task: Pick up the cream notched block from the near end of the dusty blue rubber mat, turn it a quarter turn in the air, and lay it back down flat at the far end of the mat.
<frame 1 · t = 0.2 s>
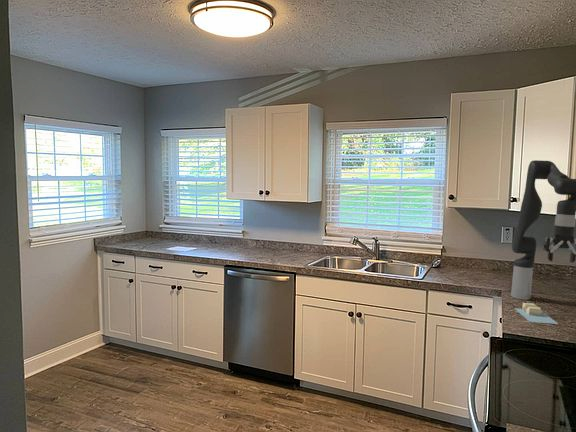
hand: (561, 261, 192), 28 cm above the worktop, tool pointing down, fingers open, 8 cm apart
mat: (535, 316, 205), on the worktop
cream notched block: (531, 312, 209), resting on mat
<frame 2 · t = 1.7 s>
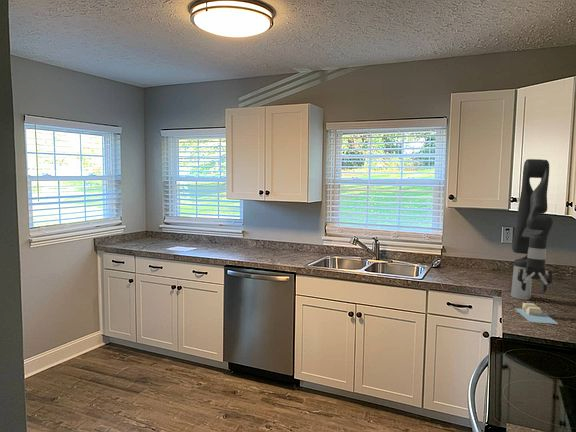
hand: (533, 291, 208), 11 cm above the worktop, tool pointing down, fingers open, 8 cm apart
nothing on the worktop moved.
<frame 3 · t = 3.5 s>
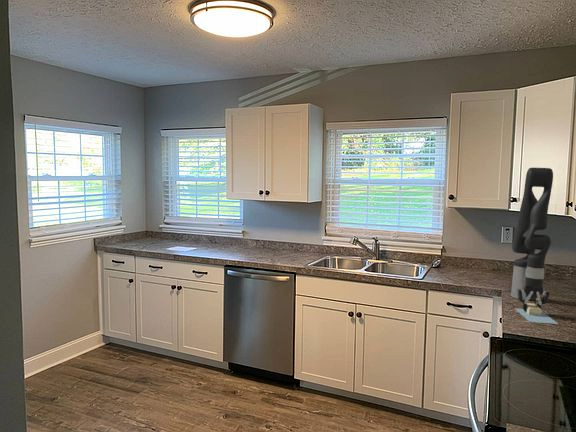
hand: (531, 311, 209), 1 cm above the worktop, tool pointing down, fingers closed on cream notched block, 5 cm apart
cream notched block: (531, 312, 209), resting on mat, touching gripper
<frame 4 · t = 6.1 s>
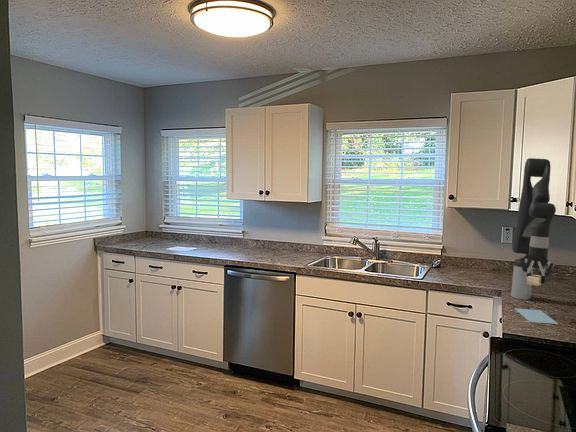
hand: (535, 282, 204), 16 cm above the worktop, tool pointing down, fingers closed on cream notched block, 5 cm apart
cream notched block: (535, 283, 204), point 15 cm above the worktop, touching gripper
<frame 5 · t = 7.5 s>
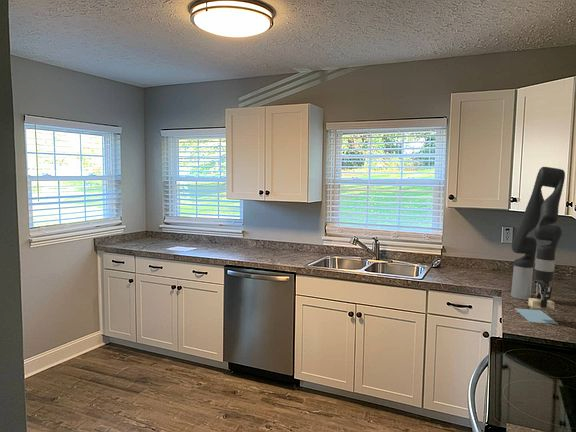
hand: (541, 305, 199), 7 cm above the worktop, tool pointing down, fingers closed on cream notched block, 5 cm apart
cream notched block: (540, 307, 199), point 6 cm above the worktop, touching gripper
when the fingers open (2 cm above the worktop, at t = 8.8 s): cream notched block drops 1 cm, resting on mat.
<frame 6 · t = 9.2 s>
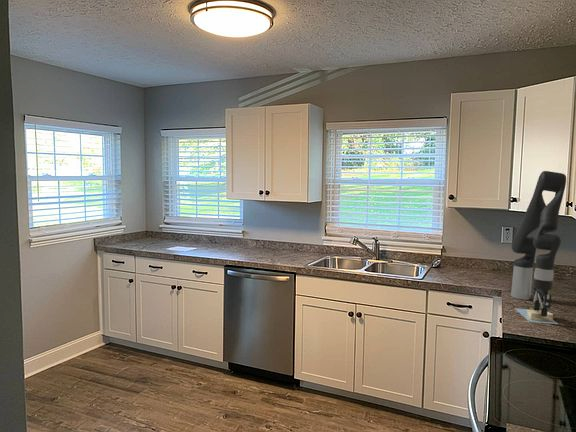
hand: (540, 313, 199), 3 cm above the worktop, tool pointing down, fingers open, 8 cm apart
cream notched block: (539, 319, 200), resting on mat
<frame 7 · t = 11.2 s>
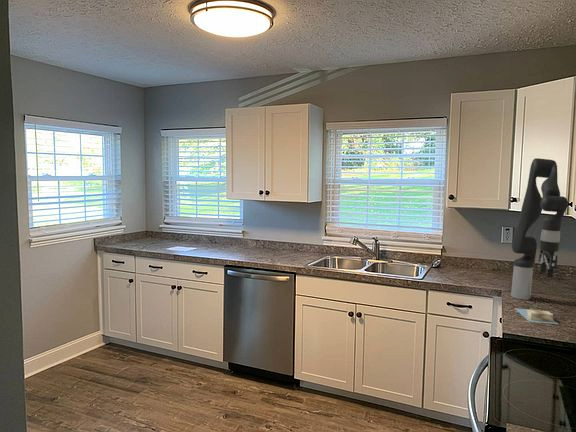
hand: (546, 275, 201), 20 cm above the worktop, tool pointing down, fingers open, 8 cm apart
nothing on the worktop moved.
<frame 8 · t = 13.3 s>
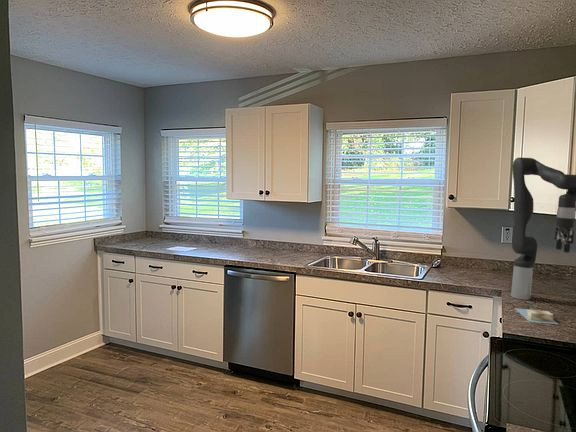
hand: (562, 250, 209), 30 cm above the worktop, tool pointing down, fingers open, 8 cm apart
nothing on the worktop moved.
at the end: cream notched block 0.3 cm from the target spot on the mat, point 0.4 cm above the mat's base; cream notched block tilted 0°; cream notched block touching mat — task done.
